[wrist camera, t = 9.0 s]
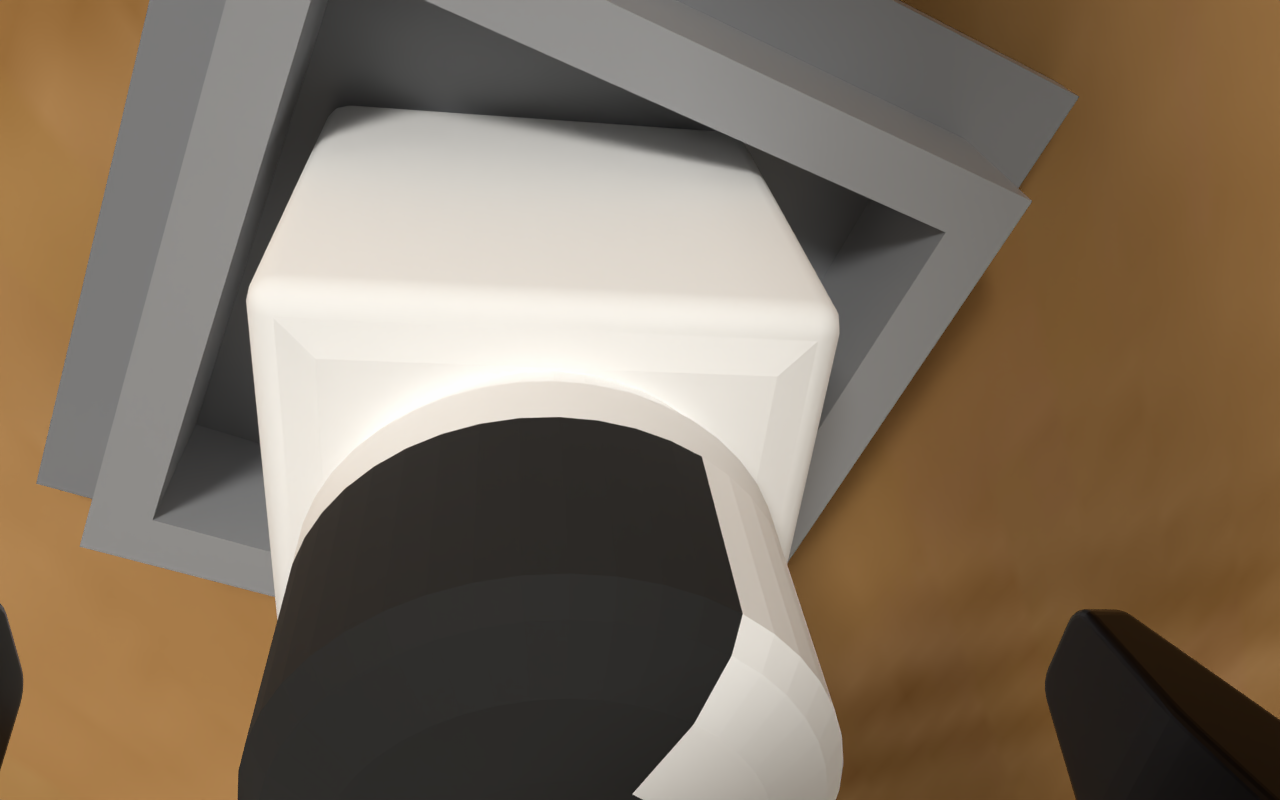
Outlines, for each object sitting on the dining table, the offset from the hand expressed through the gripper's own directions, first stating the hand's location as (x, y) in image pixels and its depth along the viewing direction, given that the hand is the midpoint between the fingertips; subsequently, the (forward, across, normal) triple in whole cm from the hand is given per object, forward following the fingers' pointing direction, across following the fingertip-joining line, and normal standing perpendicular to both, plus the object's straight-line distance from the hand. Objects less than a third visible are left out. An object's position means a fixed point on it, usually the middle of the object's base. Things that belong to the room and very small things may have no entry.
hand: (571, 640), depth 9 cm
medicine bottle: (+12, 0, +3) cm, 12 cm away
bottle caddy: (+13, 0, +3) cm, 13 cm away
